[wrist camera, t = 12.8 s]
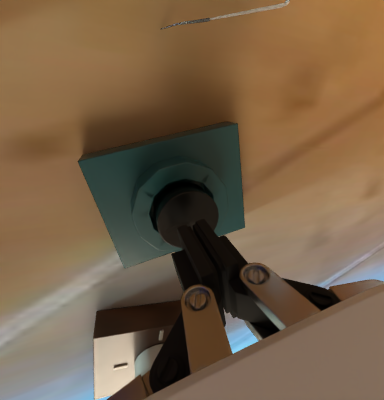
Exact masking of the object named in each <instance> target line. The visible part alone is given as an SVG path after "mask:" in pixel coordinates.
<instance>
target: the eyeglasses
mask: <svg viewBox="0 0 384 400" xmlns="http://www.w3.org/2000/svg"><path fill="white" fill-rule="evenodd" d="M289 2H290V0H286V2H285V3H282V4H277V5H272V6H267V7H262V8H257V9H253V10H248V11H243V12H238V13H233V14H229V15H224V16H219V17H214V18H206V19H199V20H193V21H186V22H180V23H176V24H173V25H170V26H167V27H164V28H168V27H172V26H175V25H181V24H191V23H200V22H207V21H210V20H214V19H220V18H226V17H232V16H237V15H243V14H249V13H254V12H260V11H266V10H271V9H277V8H281V7H284V6H286V5H287V4H288V3H289ZM164 28H161V29H164Z"/></svg>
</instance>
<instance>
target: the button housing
mask: <svg viewBox="0 0 384 400" xmlns="http://www.w3.org/2000/svg"><path fill="white" fill-rule="evenodd" d="M78 163H79V165H80V168H81V170H82V172H83V175H84V177H85V179H86V181H87V184H88V186H89V188H90V191H91V193H92V195H93V197H94V200H95V202H96V204H97V207H98V209H99V211H100V213H101V216H102V218H103V220H104V223H105V225H106V227H107V229H108V232H109V234H110V236H111V239H112V241H113V243H114V245H115V248H116V250H117V252H118V255H119V257H120V259H121V261H122V264H123V266H124V268H128V267H131V266H134V265H137V264H139V263H142V262H145V261H148V260H151V259H154V258H157V257H160V256H163V255H166V254H169V253H172V252H178V251H181V250H182V248H178V247H174V246H172V245H169V244H168V243H166V242H165V241H164V240H163V239H162V238H161V236H160V234H159V232H158V228H157V225H156V221H155V218H154V205H155V202H156V200H157V198H158V196H159V195H160V194H161V193H162V192H163V191H164V190H165V189H166V188H168V187H169V186H171V185H173V184H176V183H181V182H189V183H193V184H196V185H198V186H200V187H201V188H202V189H203V190H204V191H205V192H206V193H207V194H208V195H209V196H210V197H211V198H212V199H213V200H214V201H215V203H216V205H217V207H218V211H219V219H218V223H217V226H216V228H215V230H214V232H215V233H216V235H217V236H221V235H224V234H227V233H230V232H233V231H236V230H239V229H242V228H245V221H244V207H243V192H242V178H241V163H240V149H239V134H238V124H237V123H232V122H223V123H218V124H214V125H210V126H206V127H201V128H197V129H193V130H188V131H184V132H180V133H175V134H171V135H167V136H162V137H158V138H154V139H149V140H145V141H141V142H137V143H132V144H128V145H124V146H119V147H115V148H111V149H106V150H102V151H98V152H93V153H89V154H85V155H82V157H81V158H80V159H79V160H78Z"/></svg>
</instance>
